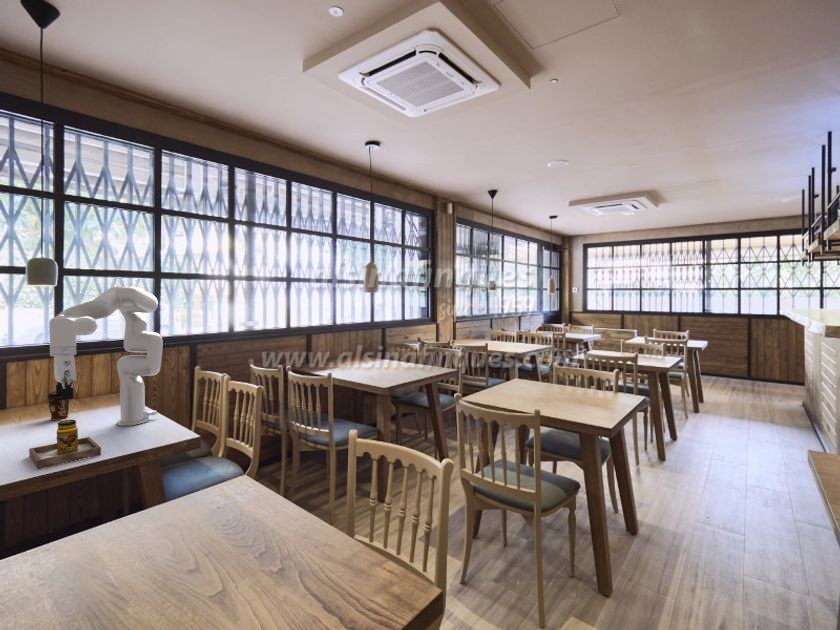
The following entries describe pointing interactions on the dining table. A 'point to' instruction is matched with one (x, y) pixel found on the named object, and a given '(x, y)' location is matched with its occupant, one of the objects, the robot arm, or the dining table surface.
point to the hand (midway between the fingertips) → (64, 396)
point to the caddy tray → (44, 460)
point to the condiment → (67, 438)
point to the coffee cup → (58, 406)
